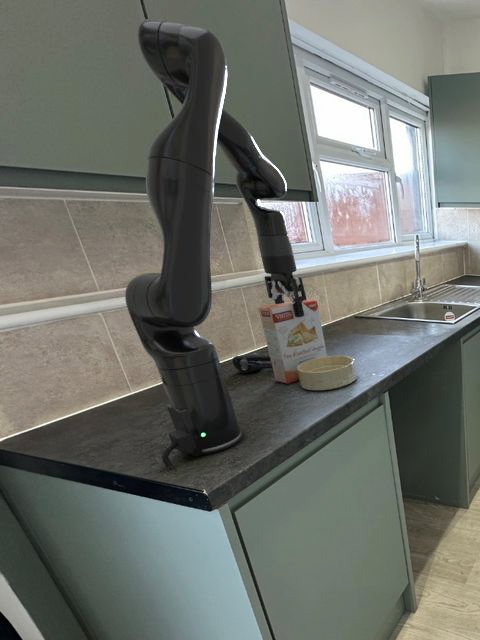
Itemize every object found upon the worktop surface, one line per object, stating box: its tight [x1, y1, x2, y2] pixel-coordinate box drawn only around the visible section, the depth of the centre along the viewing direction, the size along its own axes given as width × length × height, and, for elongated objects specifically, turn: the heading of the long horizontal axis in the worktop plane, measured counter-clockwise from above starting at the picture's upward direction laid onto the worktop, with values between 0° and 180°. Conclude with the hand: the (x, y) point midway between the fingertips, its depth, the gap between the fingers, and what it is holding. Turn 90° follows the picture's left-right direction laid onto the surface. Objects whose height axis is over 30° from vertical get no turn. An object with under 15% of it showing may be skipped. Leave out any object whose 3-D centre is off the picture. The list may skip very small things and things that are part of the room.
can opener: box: [232, 352, 273, 374], centre depth 124 cm, size 18×7×6 cm, turn 98°
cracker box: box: [258, 298, 328, 385], centre depth 116 cm, size 14×6×21 cm, turn 152°
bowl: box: [297, 355, 358, 391], centre depth 113 cm, size 14×14×6 cm
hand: (291, 315), depth 114 cm, fingers open, 8 cm apart
